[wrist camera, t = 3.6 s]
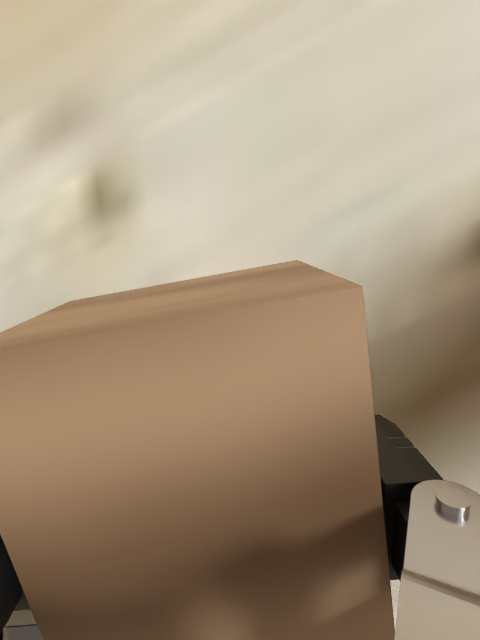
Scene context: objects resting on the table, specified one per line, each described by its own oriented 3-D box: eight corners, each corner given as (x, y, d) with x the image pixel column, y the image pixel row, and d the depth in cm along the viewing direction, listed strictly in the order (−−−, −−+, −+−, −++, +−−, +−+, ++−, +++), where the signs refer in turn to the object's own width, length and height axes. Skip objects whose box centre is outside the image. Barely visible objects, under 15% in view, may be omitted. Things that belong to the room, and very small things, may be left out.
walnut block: (333, 522, 12) (402, 711, 8) (145, 555, 12) (94, 764, 8) (297, 260, 10) (361, 286, 5) (70, 300, 10) (-70, 364, 5)
